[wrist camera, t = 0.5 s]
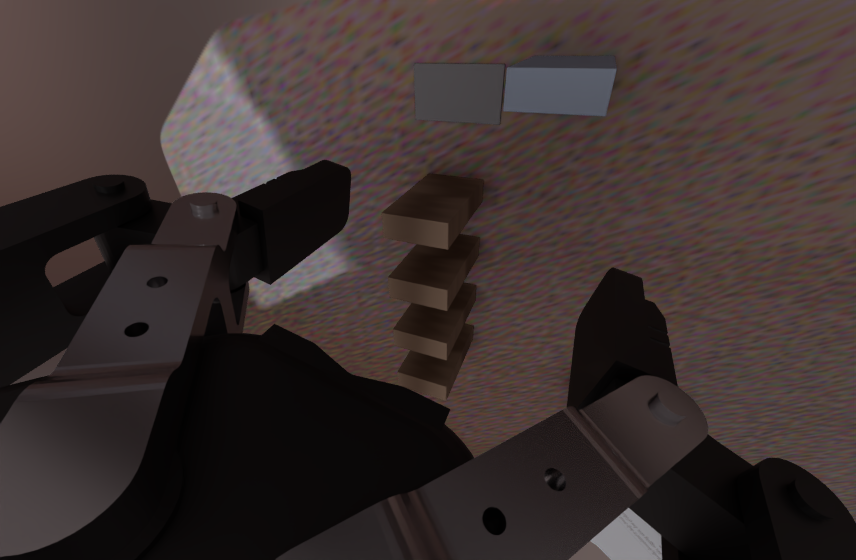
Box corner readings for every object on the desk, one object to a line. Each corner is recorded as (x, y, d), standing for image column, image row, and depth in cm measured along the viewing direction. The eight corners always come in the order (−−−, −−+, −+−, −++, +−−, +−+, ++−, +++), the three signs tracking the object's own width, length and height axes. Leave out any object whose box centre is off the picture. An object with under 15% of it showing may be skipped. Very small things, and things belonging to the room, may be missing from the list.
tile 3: (479, 237, 34) (447, 290, 27) (478, 255, 35) (447, 311, 28) (430, 229, 36) (387, 277, 29) (430, 246, 37) (389, 297, 30)
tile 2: (483, 179, 31) (448, 223, 24) (482, 201, 32) (447, 249, 25) (429, 173, 33) (381, 213, 26) (429, 194, 34) (383, 238, 27)
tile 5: (473, 325, 40) (446, 386, 34) (472, 338, 42) (446, 400, 35) (431, 315, 42) (397, 371, 35) (431, 328, 43) (398, 385, 36)
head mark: (505, 64, 26) (504, 64, 26) (499, 124, 28) (499, 124, 28) (414, 63, 28) (413, 63, 28) (416, 118, 30) (415, 119, 30)
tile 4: (476, 285, 37) (446, 343, 30) (475, 300, 38) (446, 360, 32) (430, 275, 39) (393, 329, 32) (431, 290, 40) (394, 345, 33)
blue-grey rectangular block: (614, 55, 23) (616, 68, 17) (606, 90, 25) (605, 116, 18) (535, 55, 25) (507, 67, 18) (530, 88, 26) (503, 111, 19)
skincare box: (674, 403, 36) (704, 577, 25) (616, 417, 40) (619, 574, 28) (622, 345, 35) (629, 501, 23) (567, 365, 38) (550, 508, 27)
